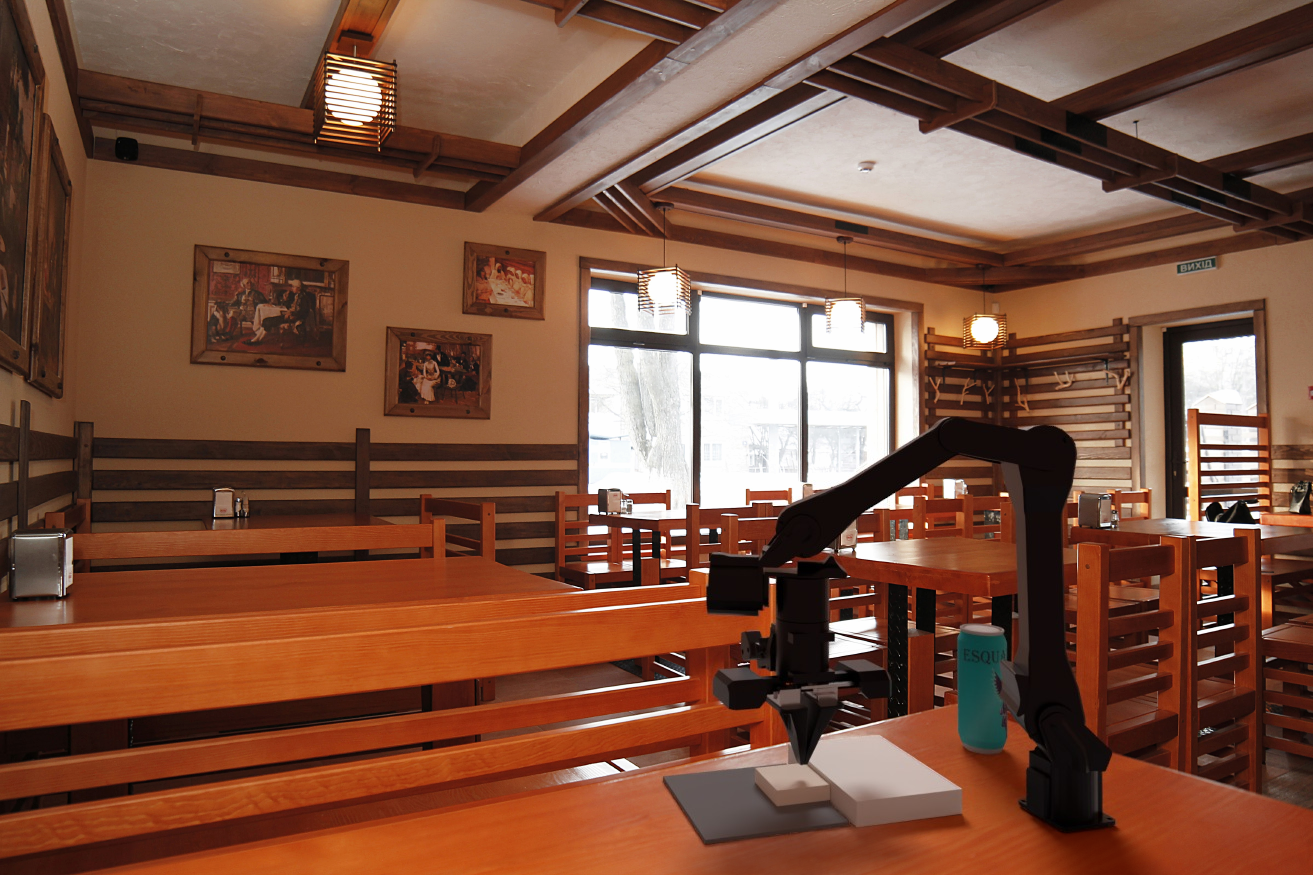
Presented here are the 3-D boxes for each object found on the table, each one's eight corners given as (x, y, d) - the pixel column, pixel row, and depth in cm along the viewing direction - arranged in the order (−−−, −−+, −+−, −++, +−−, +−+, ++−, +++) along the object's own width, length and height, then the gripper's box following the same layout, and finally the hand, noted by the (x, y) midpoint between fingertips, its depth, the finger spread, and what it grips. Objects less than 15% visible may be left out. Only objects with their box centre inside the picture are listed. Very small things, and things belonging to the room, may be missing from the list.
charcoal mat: (785, 766, 91) (786, 763, 91) (849, 825, 77) (849, 821, 77) (662, 779, 88) (662, 776, 88) (705, 844, 73) (705, 839, 73)
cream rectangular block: (804, 776, 87) (804, 762, 88) (830, 799, 82) (830, 784, 82) (755, 782, 86) (755, 767, 86) (777, 806, 80) (777, 790, 80)
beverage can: (1003, 760, 94) (1002, 634, 94) (953, 750, 97) (952, 629, 97) (1010, 745, 99) (1010, 626, 99) (963, 736, 102) (962, 620, 102)
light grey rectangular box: (878, 755, 95) (878, 734, 95) (962, 813, 80) (962, 788, 80) (788, 764, 92) (788, 743, 92) (856, 827, 77) (856, 801, 77)
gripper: (843, 600, 94) (843, 730, 94) (697, 607, 90) (696, 744, 89) (894, 619, 84) (894, 766, 83) (731, 628, 79) (730, 784, 78)
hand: (802, 763), depth 84 cm, fingers closed
